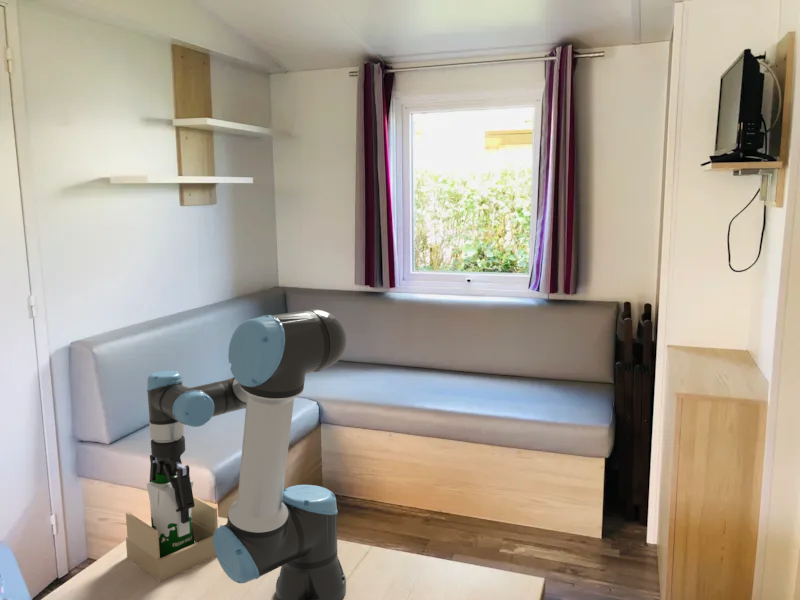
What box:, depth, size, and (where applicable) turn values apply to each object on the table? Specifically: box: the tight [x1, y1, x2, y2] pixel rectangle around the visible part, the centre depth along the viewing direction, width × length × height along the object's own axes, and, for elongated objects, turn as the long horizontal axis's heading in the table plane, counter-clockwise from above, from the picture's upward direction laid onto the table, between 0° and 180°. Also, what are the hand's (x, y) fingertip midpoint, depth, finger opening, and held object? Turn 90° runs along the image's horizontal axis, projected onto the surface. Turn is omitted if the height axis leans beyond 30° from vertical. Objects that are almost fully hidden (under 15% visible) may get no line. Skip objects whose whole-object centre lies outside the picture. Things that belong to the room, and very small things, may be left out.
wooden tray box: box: [125, 494, 219, 582], centre depth 155 cm, size 16×16×12 cm
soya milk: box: [146, 472, 195, 558], centre depth 154 cm, size 9×9×20 cm
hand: (172, 527), depth 155 cm, fingers closed on soya milk, 9 cm apart
